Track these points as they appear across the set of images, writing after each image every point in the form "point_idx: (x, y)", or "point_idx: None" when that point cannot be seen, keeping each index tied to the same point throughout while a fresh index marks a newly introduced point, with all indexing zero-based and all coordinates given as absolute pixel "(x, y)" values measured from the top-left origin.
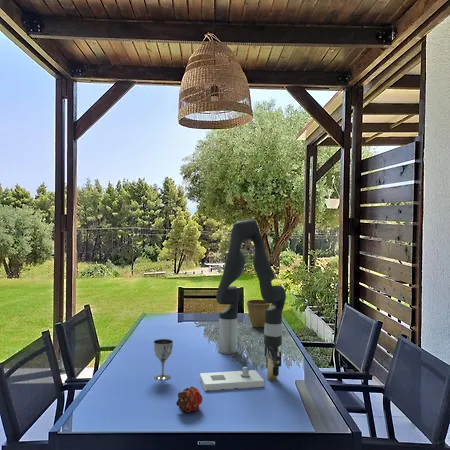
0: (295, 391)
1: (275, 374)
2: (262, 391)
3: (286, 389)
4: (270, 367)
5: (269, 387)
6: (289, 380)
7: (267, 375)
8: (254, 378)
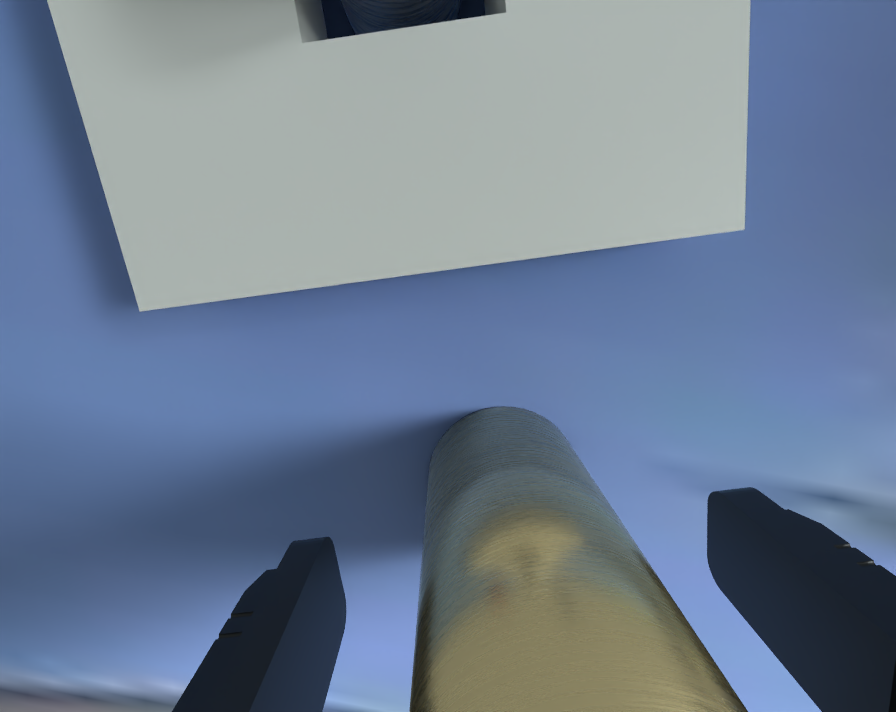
0: (97, 664)
1: (261, 588)
2: (21, 246)
3: (147, 581)
4: (434, 592)
5: (192, 380)
6: None
7: (502, 432)
8: (229, 122)
